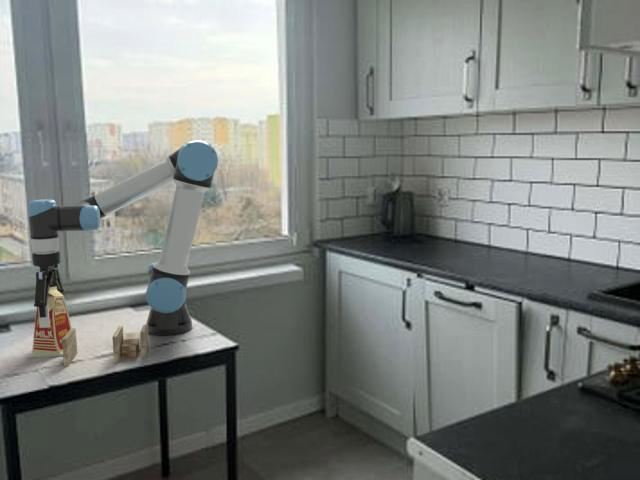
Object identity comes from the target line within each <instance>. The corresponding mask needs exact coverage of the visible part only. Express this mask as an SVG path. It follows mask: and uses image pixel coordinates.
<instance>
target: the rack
mask: <svg viewBox="0 0 640 480" xmlns="http://www.w3.org/2000/svg"><path fill="white" fill-rule="evenodd" d="M139 335H140V351H141V353H140V354H141V359H146V358H147V355H148V354H147V353H149V350H150V347H149V345H150V342H149V333H148V325H146V324H143V325H142V326H141V330H140V333H139ZM111 337H112V351H113V363H114V364H119V362H120V361H121V359H122V348H121V346H122V344H123V343H124V326H123V325H118V326H117V328H116V330H115V332H114V333H113V335H112V336H111ZM76 341H77V331H76V328H75V327H71V329H70V330H69V331H68V333H67V334H66V335H65V336H64V338H63V339H62V344H63V356H62V357H63V366H64V367H69V366H70V365H71V363H72V362H73V360H74V359H75V358H76V356H77V355H78V346H77V345H78V342H77V343H76Z"/></svg>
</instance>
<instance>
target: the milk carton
mask: <svg viewBox="0 0 640 480" xmlns="http://www.w3.org/2000/svg"><path fill="white" fill-rule="evenodd" d="M41 302H42V301H41ZM47 305H48V308H49V320H50V327H47V328H40V327H39V316H38V307H36V311H35V318H34V319H35V320H34V330H33V338H32V339H33V340H32V352H37V353H49V354H61V353H62V352H63V344H62V339H63V338H64V336H65V335H66V334H67V333H68V331H69V330H70V329H71V328H72V323H71V320H70V319H71V318H70V314H69V310H68V305H67V303H66V299H65V295H63V294H62V293H60V292H59V291H58V290H57V286H55V287H50V286H49V293H48V300H47ZM32 352H31V353H32Z"/></svg>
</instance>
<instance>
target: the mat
mask: <svg viewBox="0 0 640 480" xmlns="http://www.w3.org/2000/svg"><path fill="white" fill-rule="evenodd" d="M76 343H77V344H78V341H77V340H76ZM47 357H48V358H49V357H50V358H52V357H63V352H62V353H61V354H49V353H37V352H31V353H30V354H29V355H28V358H29V359H30V358H31V359H33V358H47Z"/></svg>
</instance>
